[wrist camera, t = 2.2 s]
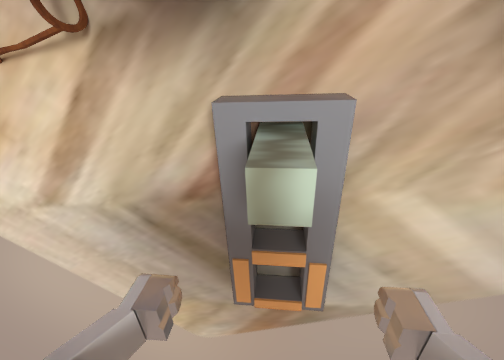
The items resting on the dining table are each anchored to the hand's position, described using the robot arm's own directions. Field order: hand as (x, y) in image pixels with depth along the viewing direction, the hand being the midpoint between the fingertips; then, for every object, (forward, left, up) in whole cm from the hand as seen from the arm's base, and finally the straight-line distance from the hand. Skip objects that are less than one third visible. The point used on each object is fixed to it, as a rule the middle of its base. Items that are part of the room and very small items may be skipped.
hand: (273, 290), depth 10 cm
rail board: (0, +9, -19) cm, 21 cm away
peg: (0, 0, -19) cm, 19 cm away
